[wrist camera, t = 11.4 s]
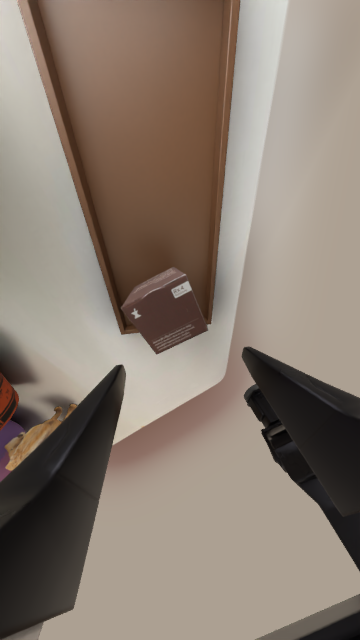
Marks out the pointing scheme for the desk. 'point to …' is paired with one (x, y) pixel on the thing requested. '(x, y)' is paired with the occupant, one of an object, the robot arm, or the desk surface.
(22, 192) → the desk surface
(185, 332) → the box
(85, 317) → the desk surface
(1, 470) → the decorative ball
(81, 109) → the tray
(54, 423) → the lion figurine
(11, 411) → the oil filter
